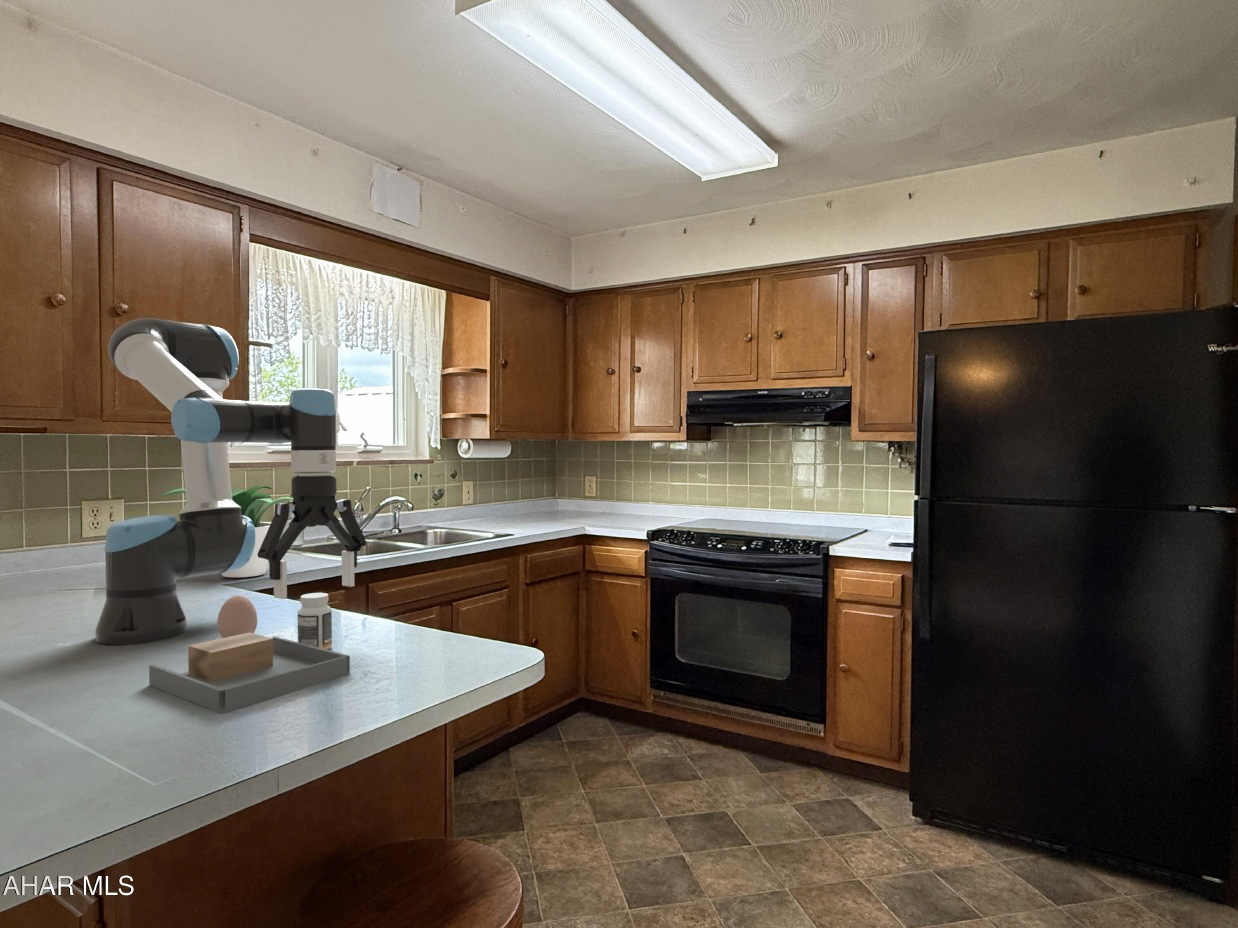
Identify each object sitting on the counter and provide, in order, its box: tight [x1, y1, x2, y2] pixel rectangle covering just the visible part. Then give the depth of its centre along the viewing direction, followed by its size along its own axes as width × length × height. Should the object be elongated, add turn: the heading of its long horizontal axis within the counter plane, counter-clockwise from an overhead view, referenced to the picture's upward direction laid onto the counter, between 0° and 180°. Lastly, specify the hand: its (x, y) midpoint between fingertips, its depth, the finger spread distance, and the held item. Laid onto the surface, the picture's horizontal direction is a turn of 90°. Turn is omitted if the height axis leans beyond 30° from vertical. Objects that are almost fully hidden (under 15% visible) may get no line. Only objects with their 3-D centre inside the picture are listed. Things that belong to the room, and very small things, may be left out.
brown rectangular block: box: [187, 632, 273, 682], centre depth 118 cm, size 7×10×4 cm
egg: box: [216, 594, 258, 638], centre depth 136 cm, size 7×7×9 cm
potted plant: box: [160, 484, 293, 578], centre depth 207 cm, size 32×35×26 cm
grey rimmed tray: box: [148, 636, 351, 714], centre depth 115 cm, size 21×21×3 cm
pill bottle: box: [297, 592, 333, 650], centre depth 132 cm, size 6×6×10 cm
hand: (315, 591), depth 132 cm, fingers open, 13 cm apart
